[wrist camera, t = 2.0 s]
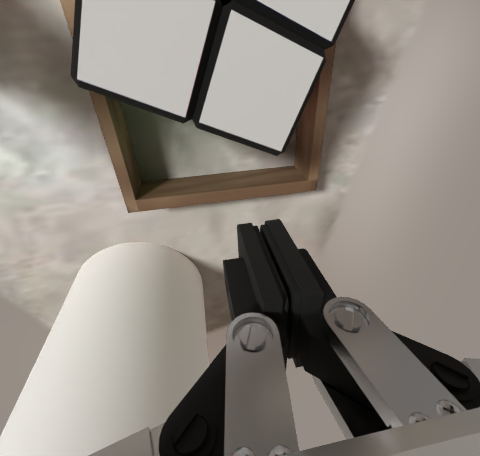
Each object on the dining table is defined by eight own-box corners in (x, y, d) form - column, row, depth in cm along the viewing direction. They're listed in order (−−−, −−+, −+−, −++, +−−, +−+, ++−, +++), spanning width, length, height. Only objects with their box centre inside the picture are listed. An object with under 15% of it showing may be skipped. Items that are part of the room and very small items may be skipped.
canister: (92, 334, 33) (0, 618, 16) (58, 246, 25) (-170, 602, 9) (203, 322, 35) (220, 559, 19) (201, 239, 28) (228, 508, 11)
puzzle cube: (302, -33, 17) (408, -108, 9) (246, 119, 22) (284, 160, 14) (144, -135, 14) (90, -392, 6) (118, 70, 19) (67, 85, 11)
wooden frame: (34, -153, 13) (-8, -210, 10) (330, -141, 15) (365, -186, 12) (134, 193, 24) (128, 212, 21) (301, 174, 26) (316, 190, 23)
